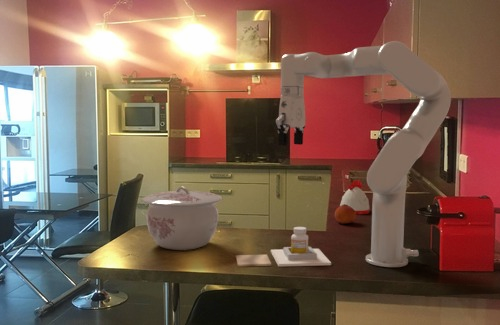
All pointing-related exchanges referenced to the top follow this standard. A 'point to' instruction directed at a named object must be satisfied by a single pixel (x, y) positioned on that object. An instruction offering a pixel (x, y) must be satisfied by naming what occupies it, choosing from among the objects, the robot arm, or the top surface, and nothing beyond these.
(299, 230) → the supplement bottle
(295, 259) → the socket block
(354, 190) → the white knit beanie
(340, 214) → the fruit
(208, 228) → the chamber pot
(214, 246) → the top surface
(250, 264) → the cork trivet
